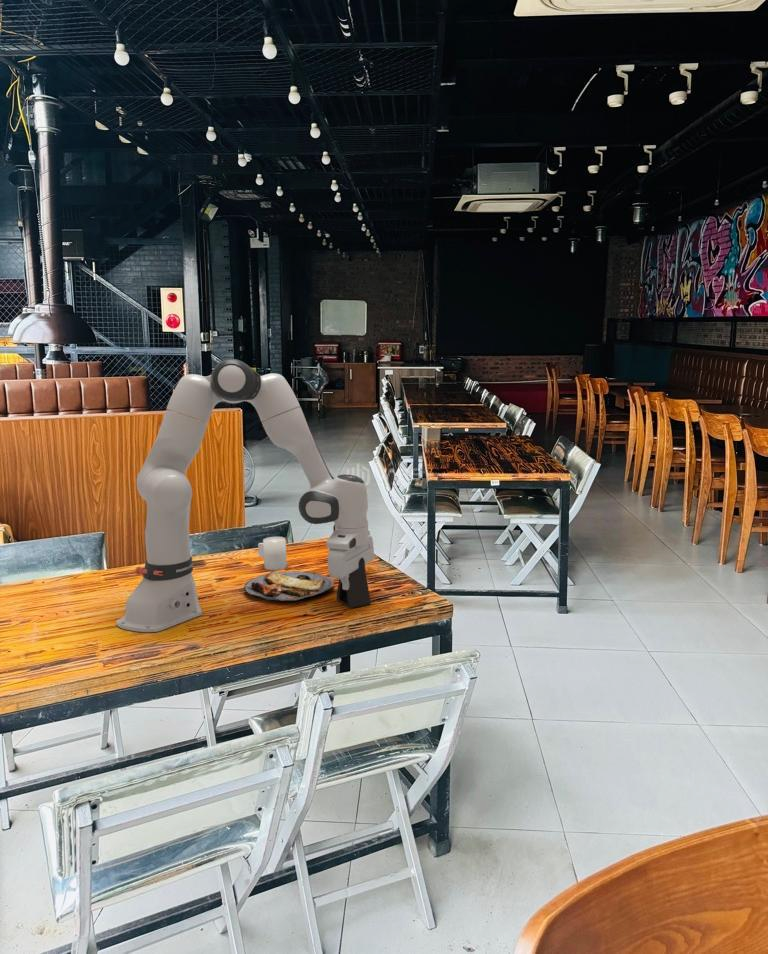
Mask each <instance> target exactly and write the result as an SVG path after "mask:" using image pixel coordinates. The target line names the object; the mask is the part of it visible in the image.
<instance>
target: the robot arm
mask: <svg viewBox="0 0 768 954" xmlns="http://www.w3.org/2000/svg"><path fill="white" fill-rule="evenodd" d="M242 402H247V403H250V404H251V405H252V406H253V407H254V409H255V411H256V412H257V414H258V417H259V419H260V422H261V424H262V427H263V429H264V431H265V433H266V435H267V436H268V438H269V439H270V441H271V442H272V443H273V445H275V446H276V447H278V448H280V449H284V450H286V451H287V452H289V453H290V454H293V456H294V457H295V458H296V459H297V461H298V462H299V464H300V467H301V468H302V471H303V473H304V474H305V477H306V478H307V481H308V482H309V488H310V489H308V490H306V491H305V493H304V494H303V495H302V496H301V497H300V499H299V502H298V511H299V514H300V517H302V518H303V520H304V521H306V522H307V523H309V524H311V525H322V524H328V523H332V522H333V523H334V524H335V530H334V531H333V532H332V534H331V535H330V536H329V538H327V540H326V544H325V545H326V548H327V549H328V552H327V568H328V569H327V570H328V575H329V576H330V577H329V578H331V579H332V578H333V579H338V580H339V579H340V580H341V582H342V588H343V590H348V589H349V588H350V584H351V582H349V580H348V578H349V574H350V573H352V572H353V571H355V570H357V569H358V567H359V565H358V564H359V560H360V559H361V558H364V561H365V564H366V565H367V564H369V563H371V562H372V561H373V560H374V557H375V548H374V541H373V537H372V536H371V531H370V530H369V522H368V521H369V520H368V519H367V518H368V517H367V513H368V511H369V510H368V508H369V507H368V492H367V487H366V486H367V485H366V483H365V481H364V480H363V478H361V477H359V476H356V475H353V474H338V475H337V476H335V477H334V476H333V475H332V473H331V472H330V470H329V467H328V466H327V464H326V462H325V460H324V458H323V456H322V453H321V451H320V449H319V447H318V446H317V444H316V441H315V439H314V438H313V435H312V433H311V431H310V428H309V425H308V423H307V420H306V417H305V414H304V412H303V409H302V407H301V405H300V402H299V400H298V398H297V397H296V394H295V392H294V390H293V389H292V387H291V386H290V384H289V383H288V381H287V379H286V378H285V377H284V376H283V375H282V374H280V373H275V372H274V373H273V372H271V373H268V374H267V373H266V374H264V375H260V373H258V372H257V371H255V370H254V369H253V368H252V367H251V366H250V365H248V364H247V363H246V362H244V361H242V360H239V359H236V358H227V359H224V360H222V361H220V362H218V363H217V364H216V365H215V366H214V368H213V369H212V371H211V373H210V375H207V376H203V375H201V374H195V373H190V374H186V375H183V376H182V377H181V378H180V380H179V381H178V383H177V384H176V386H175V388H174V390H173V392H172V395H171V396H170V398H169V401H168V403H167V405H166V410H165V412H164V415H163V418H162V421H161V423H160V426H159V429H158V433H157V435H156V439H155V441H154V442H153V444H152V446H151V448H150V451H149V452H148V455H147V456H146V458H145V461H144V463H143V466H142V467H141V470H140V471H139V472H138V474H137V477H136V489H137V491H138V494H139V496H140V497H141V498H142V499H143V500H144V501H145V503H146V520H145V521H146V522H145V523H146V524H145V530H144V539H145V540H144V541H145V551H146V561H145V563H144V567H141V566H137V567H136V568H135V571H134V572H135V574H136V575H141V576H142V579H141V580H140V582H139V583H138V585H137V586H136V587H135V589H134V590H133V591H132V593H131V594H130V595H129V596H128V597H127V599H126V601H125V615H123V616H122V617H121V618H119V619H117V620H116V626H117V627H119V628H120V629H122V630H127V631H130V632H131V631H133V632H138V633H157V632H161V631H163V630H166V629H169V628H171V627H174V626H176V625H179V624H182V623H184V622H187V621H189V620H193V619H195V618H197V617H200V616H202V615H203V610H202V608H201V606H200V603H199V596H198V592H197V586H196V582H195V580H194V576H193V571H194V563H193V557H192V556H191V547H190V546H191V545H190V533H189V532H190V529H189V527H190V517H191V514H190V513H191V506H192V505H191V504H192V502H191V501H192V498H193V489H192V488H193V487H192V485H191V482H190V480H189V479H188V477H187V476H186V473H187V471H188V469H189V467H190V465H191V463H192V461H193V460H194V458H195V456H197V455H198V453H199V451H200V448H201V444H202V442H203V439H204V436H205V434H206V430H207V429H208V424H209V421H210V418H211V415H212V413H213V410H214V408H215V406H216V405H218V404H233V405H235V404H240V403H242Z"/></svg>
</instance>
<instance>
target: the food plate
mask: <svg viewBox="0 0 768 954" xmlns="http://www.w3.org/2000/svg"><path fill="white" fill-rule="evenodd" d="M333 587H334V581H333V579H332V577H329V576H327V575H324V574H322V573H320V572H319V573H318V572H313V571H312V572H309V571H295V570H294V571H282V572H281V571H279V570H270V572H269V573H267V574H262V575H259V576H257V577H253V578H251V579H249V580H247V582H246V583H244V586H243V590H244V591H245V593H246V592H247V594H248V595H252V596H257V597H260V598H262V599H264V600H266V601H283V602H284V601H299V600H302V599H305V598H308V597H310V598H311V597H315V596H318V595H319V594H323V593H324V592H326V591H328V590H330V589H331V588H333ZM311 593H312V594H311Z"/></svg>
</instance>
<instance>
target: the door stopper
mask: <svg viewBox="0 0 768 954" xmlns="http://www.w3.org/2000/svg"><path fill="white" fill-rule="evenodd" d="M358 565H359V567H358V569H357V570H355V571H353V572H352V573H350V574H349V578H348V580H349V582H351V584H350V588H349V589H348V590H343V588H342V582H341V580H340V579H338V582H337V583H338V585H337V590H336V600H337V601H339V602H340V603H342V604H344V605H345V606H347V607H348V608H350V609H354V608H356V607H357V608H358V607H362V606H367V605H371V604H372V600H371V596H370V591H369V585H368V579H367V578H368V577H367V575H366V574H367V573H365V561H364V558H361V559H360V560H359V564H358Z"/></svg>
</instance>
